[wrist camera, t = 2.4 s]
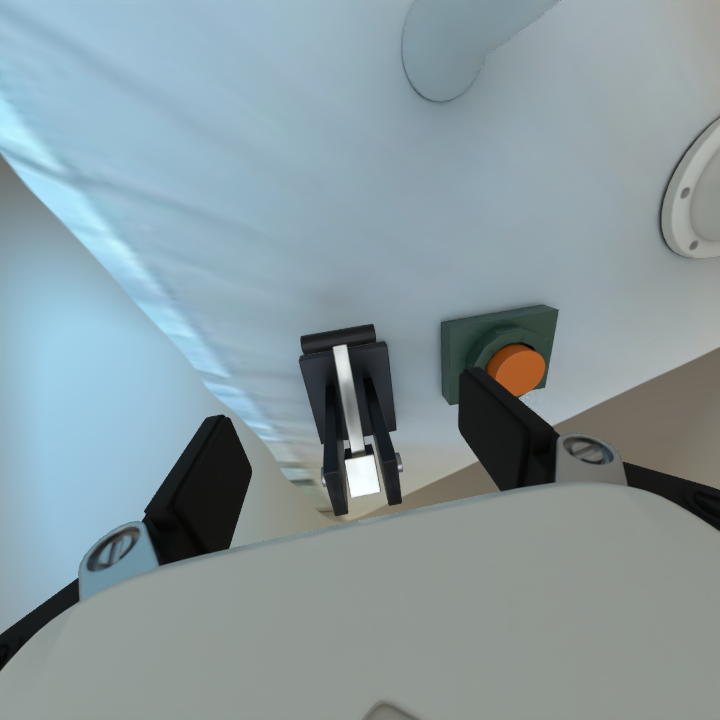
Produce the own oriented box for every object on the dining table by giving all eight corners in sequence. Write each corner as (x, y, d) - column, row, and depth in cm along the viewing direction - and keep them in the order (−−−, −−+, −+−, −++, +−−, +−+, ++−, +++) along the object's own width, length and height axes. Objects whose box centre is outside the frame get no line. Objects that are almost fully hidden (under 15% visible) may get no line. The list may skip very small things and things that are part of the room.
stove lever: (303, 337, 21) (297, 334, 19) (371, 325, 22) (374, 321, 19) (330, 487, 21) (327, 503, 19) (397, 474, 22) (403, 488, 19)
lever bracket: (299, 356, 28) (278, 441, 16) (385, 341, 28) (424, 414, 16) (321, 438, 32) (317, 549, 21) (394, 424, 33) (430, 526, 21)
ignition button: (535, 339, 26) (549, 346, 24) (529, 382, 28) (541, 391, 26) (487, 348, 26) (497, 355, 24) (484, 391, 28) (493, 400, 26)
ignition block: (542, 304, 28) (574, 314, 25) (531, 378, 32) (557, 396, 28) (440, 322, 28) (457, 334, 24) (442, 395, 32) (456, 415, 28)
